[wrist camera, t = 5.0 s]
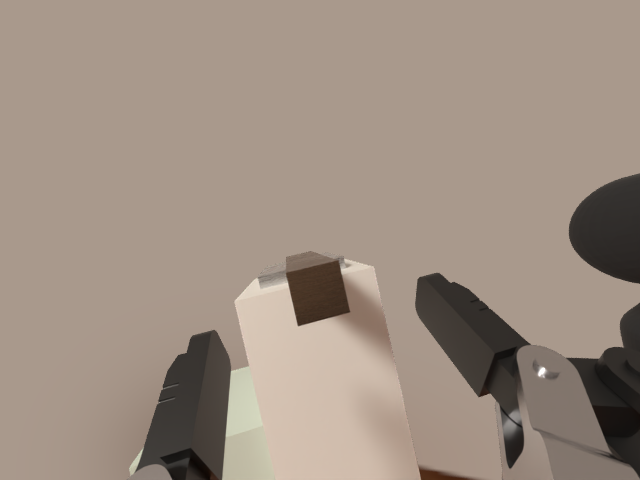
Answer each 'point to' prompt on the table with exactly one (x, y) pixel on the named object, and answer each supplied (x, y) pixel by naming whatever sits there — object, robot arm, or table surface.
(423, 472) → the table surface
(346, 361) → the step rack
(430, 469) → the table surface
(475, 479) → the table surface
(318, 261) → the turner
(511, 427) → the robot arm
